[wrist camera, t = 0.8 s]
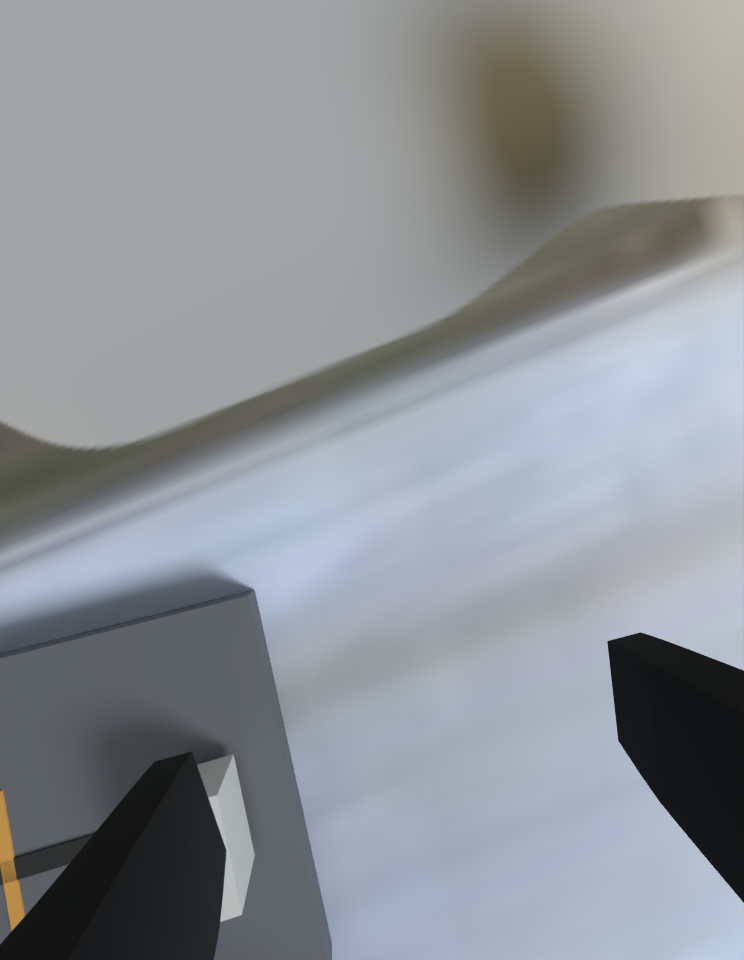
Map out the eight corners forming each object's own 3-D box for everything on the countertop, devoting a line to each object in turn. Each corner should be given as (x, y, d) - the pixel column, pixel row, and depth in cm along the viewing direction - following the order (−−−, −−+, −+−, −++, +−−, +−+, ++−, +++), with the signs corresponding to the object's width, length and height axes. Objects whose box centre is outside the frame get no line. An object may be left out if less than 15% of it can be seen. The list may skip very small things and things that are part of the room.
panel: (331, 943, 21) (332, 988, 19) (-53, 1075, 19) (-98, 1141, 17) (254, 590, 22) (247, 596, 20) (-116, 682, 21) (-165, 700, 19)
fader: (254, 854, 19) (241, 917, 16) (194, 874, 19) (169, 941, 16) (233, 754, 19) (216, 796, 16) (173, 771, 19) (145, 818, 16)
